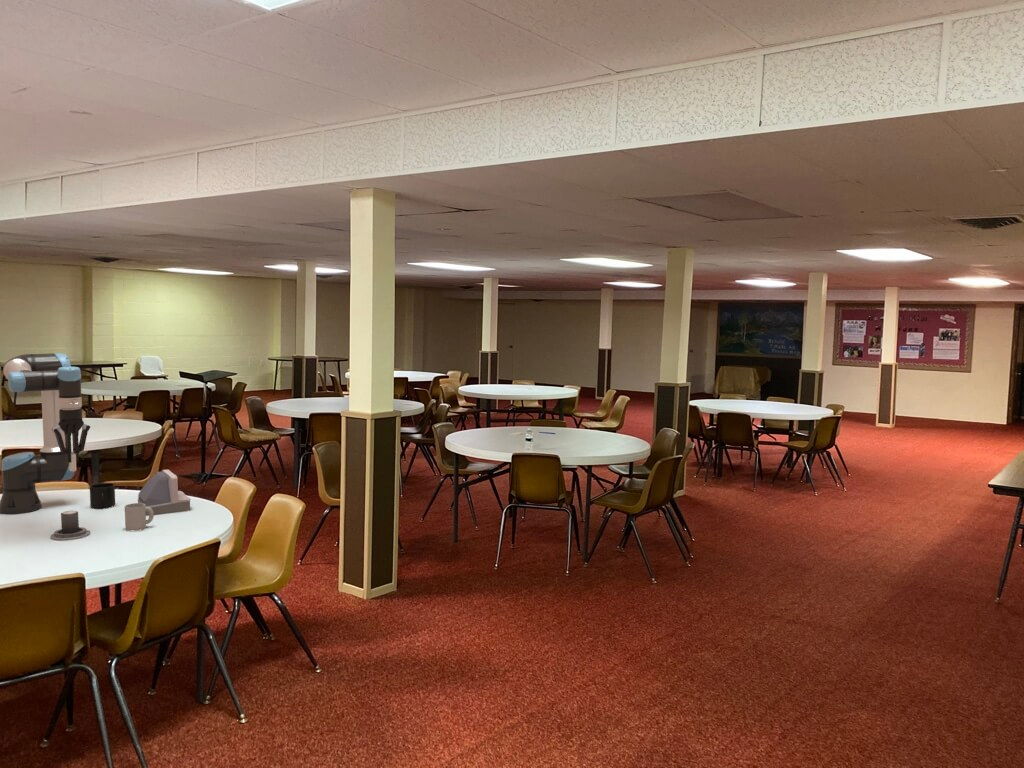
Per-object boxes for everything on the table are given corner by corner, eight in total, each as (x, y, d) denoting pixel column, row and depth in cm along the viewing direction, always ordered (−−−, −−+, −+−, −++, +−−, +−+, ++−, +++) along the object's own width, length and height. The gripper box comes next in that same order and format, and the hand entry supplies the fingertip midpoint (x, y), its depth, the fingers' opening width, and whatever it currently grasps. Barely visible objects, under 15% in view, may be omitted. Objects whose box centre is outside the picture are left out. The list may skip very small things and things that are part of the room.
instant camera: (191, 512, 334) (190, 476, 333) (136, 517, 325) (135, 480, 324) (188, 501, 353) (187, 467, 352) (136, 505, 344) (135, 471, 343)
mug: (90, 511, 333) (89, 490, 332) (90, 505, 344) (89, 484, 343) (115, 509, 337) (114, 487, 336) (115, 502, 348) (114, 482, 347)
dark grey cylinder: (59, 534, 298) (58, 512, 297) (75, 531, 302) (74, 509, 301) (65, 537, 294) (64, 514, 293) (81, 533, 298) (80, 512, 298)
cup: (124, 527, 310) (124, 504, 309) (153, 523, 315) (152, 501, 314) (126, 531, 304) (125, 508, 303) (154, 528, 309) (154, 505, 308)
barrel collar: (44, 535, 297) (44, 531, 297) (81, 528, 307) (81, 524, 307) (58, 542, 289) (58, 537, 289) (96, 535, 299) (96, 530, 298)
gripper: (55, 411, 292) (57, 474, 294) (93, 407, 302) (95, 469, 304) (47, 408, 297) (50, 471, 299) (85, 405, 307) (87, 466, 309)
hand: (72, 470), depth 302 cm, fingers closed
